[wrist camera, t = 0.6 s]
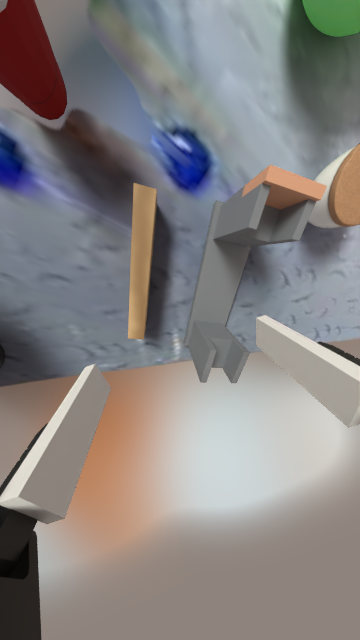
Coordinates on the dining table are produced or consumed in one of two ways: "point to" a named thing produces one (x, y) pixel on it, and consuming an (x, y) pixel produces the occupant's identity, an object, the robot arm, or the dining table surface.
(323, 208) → the lidded jar
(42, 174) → the dining table surface
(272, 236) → the stand
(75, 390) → the robot arm
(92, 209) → the dining table surface
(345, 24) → the toy bird
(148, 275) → the slat
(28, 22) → the plastic cup
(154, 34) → the dining table surface
